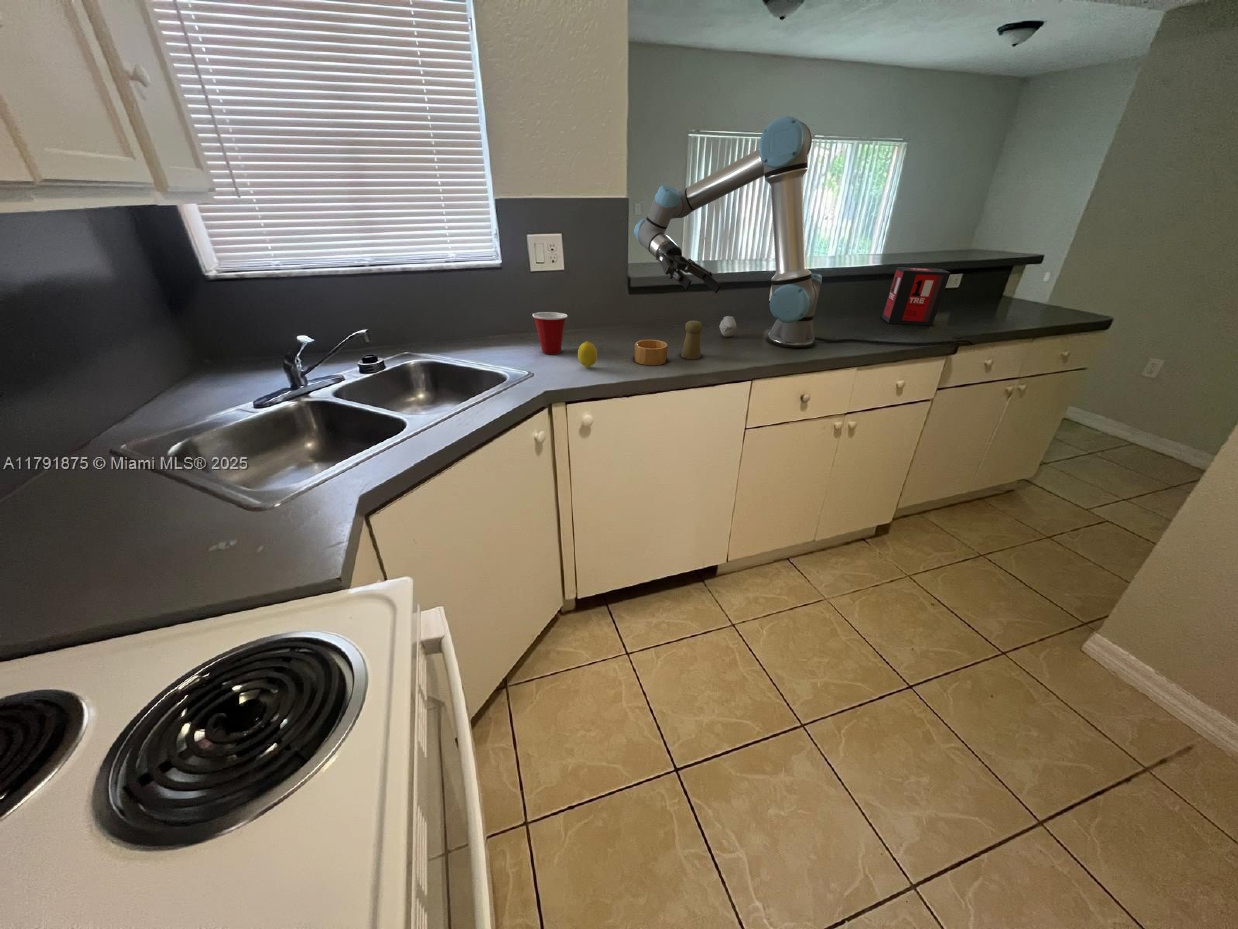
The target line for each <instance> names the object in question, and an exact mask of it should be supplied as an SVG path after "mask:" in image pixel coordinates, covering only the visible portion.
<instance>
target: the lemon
mask: <svg viewBox="0 0 1238 929" xmlns="http://www.w3.org/2000/svg"><path fill="white" fill-rule="evenodd" d="M597 358H598V353H597V348H596V346H595V345H594V344H593V343H592V342H590V341H588V340H586V341H584V342H583V343H581V344H580V345H579V347H578V350H577V359H578V361H579V363H580V364H581V365H582V366H583V367H585V368H586V369H589V368H590V367H591V366H593V365H595V363H596V362H597Z"/></svg>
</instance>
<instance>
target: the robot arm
mask: <svg viewBox="0 0 1238 929" xmlns="http://www.w3.org/2000/svg"><path fill="white" fill-rule="evenodd" d="M764 128H765V129H764V130H763V131H762V133H761V136H760V137H759V142H758V149H756V150H754V151H752V152H750V153H749V154H747V155H745V156H743V157H741V158H739V159H737V160H736V161H734V162H732V163H730V164H728V165H726V166H725V167H723V168H720V169H718V170H717V171H715V172H713V173H711V174H709V175H707V176H705V177H704V178H702V179H700V180H698V181H696V182H694V183H693V184H691V185H688V186H687V187H685V188H683V189H681V190H680V191H679V190H677V189H676V188H674V187H673V186H670V185H667V184H662V185H660V186H659V188H658V189H657V192H656V194H655V195H654V199H653V201H652V203H651V206H650V208H649V211H648V213H647V215H646V218H642V219H640V220H639V221H638V222H637V223H636V224H635V226H634V230H633V234H634V238H635V239H636V240H637V241H638V243H639V244H640V245H641V246H642V247H643V248H644V249H646V250H647V252H649V253H650V254H651V255H652V256H653V257H654V260H656V261H658V263H660V266H661V268H662V271H663V273H664V274H665V275H666V276H668V278H669V279H670V280H673V279H675V280H676V282H678V283H679V284H680V285H681V286H682V287H683V289H684V290H688V289H689V288H690V286H691V284H692V280H691V279H690V278H689V277H688V276H687V275H686V274H688V273H689V274H691V275H692V276H695V277H696V278H698V279H699V280H701V281H703V283H704V284H705V285H706V286H707V287H708V288H709V289H710V290H711V291H712V292H713V293H714V294H718V293H719V291H720V289H721V287H722V285H721V284H720V282H718V281H717V280H716V279H715V278H714V277H713V275H714V273H712V271H709V270H707V269H706V268H705V267H703V266H701V265H700V264H698V263H697V262H695V261H694V260H693V259H692V258H688V259H687V258H686V257H685V256H683V252H682V251H683V250H682V248H681V247H680V246H679V245H678V244H677V243H676V242H675V241H674V240H673V239H671V237H670V236H668V235H667V234H666V230H667V229H668V227H669V225H670V223H671V220H673V219H682V218H685V217H687V216H689V215H690V214H691V213H692V212H695V211H696V210H699V209H700V208H702V207H704V206H706V205H708V204H710V203H712V202H714V201H717V200H719V199H720V198H723V197H724V196H726V195H728V194H731V193H732V192H734V191H736V190H737V191H738V190H739V189H741V188H742V187H745V186H747V185H749V184H750V183H753V182H755V181H757V180H759V179H761V178H764V181H765V182H766V183H768V185H770V198H771V213H772V229H773V230H772V231H773V245H774V246H773V247H774V262H775V274H774V275H773V276H772V277H771V279H770V281H771V295H770V299H769V310H770V313H771V314H772V316H773V317H774V318H775V319H776V320H775V322H774V324H773V326H772V327H771V329H770V331H769V333H768V337H767V340H768V342H769V343H770V344H773V345H776V346H778V347H782V348H783V347H784V348H792V349H805V348H810V347H811V348H812V347H813V346H814V342H815V341H820V342H821V341H822V342H826V343H841V342H843V343H844V342H853V343H854V342H855V343H866V344H879V345H881V344H882V345H896V346H929V345H941V344H956V343H957V344H958V343H965V342H966V343H969V344H970V345H971V346H976V344H975V342H974V341H973V340H971V339H970V338H969V339H968V338H961V339H947V340H946V339H945V340H935V341H912V342H911V341H887V340H873V339H864V338H863V339H862V338H837V339H836V338H835V339H834V338H833V339H831V338H824V337H819V336H815V331H814V317H815V313H816V308H817V304H818V299H819V296H820V295H819V294H820V290H821V287H822V284H823V283H822V282H823V276H822V274H820V273H812V271H811V270H810V269H808V268H807V265H806V264H807V263H806V262H807V261H806V239H805V238H806V236H805V215H804V214H805V211H804V188H803V187H804V186H803V185H804V184H803V177H804V175H805V174H806V173H807V171H808V170H809V167H808V166H809V165H808V160H809V159H808V155H809V154H810V152H811V148H812V144H813V136H812V135H813V134H812V132H811V129H810V128H809V127H808V125H807V124H806V123H804V122H802V121H800V119H798V118H797V117H794V116H781V117H778V118H775V119H773V120H772V121H771V122H770V123H769V124H767V126H766V127H764Z"/></svg>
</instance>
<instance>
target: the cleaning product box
mask: <svg viewBox="0 0 1238 929" xmlns="http://www.w3.org/2000/svg"><path fill="white" fill-rule="evenodd" d="M951 274H952V273H951V271H947V270H945V269H944V268H943V269H942V268H928V267H927V268H925V267H909V266H907V267H905V266H896V268H895V272H894V276H893V279H892V281H891V286H890V289H889V293H888V296H887V299H886V302H885V306H884V310H883V313H882V316H881V318H882V319H883V320H884V321H885V322H887V324H897V325H912V326H929V327H933V325H934V322H935V319H936V316H937V314H938V311H939V308H940V305H941V302H942V300H943V296H944V294H945V291H946V287H947V286H948V285H947V284H948V281H949V279H950V276H951Z"/></svg>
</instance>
